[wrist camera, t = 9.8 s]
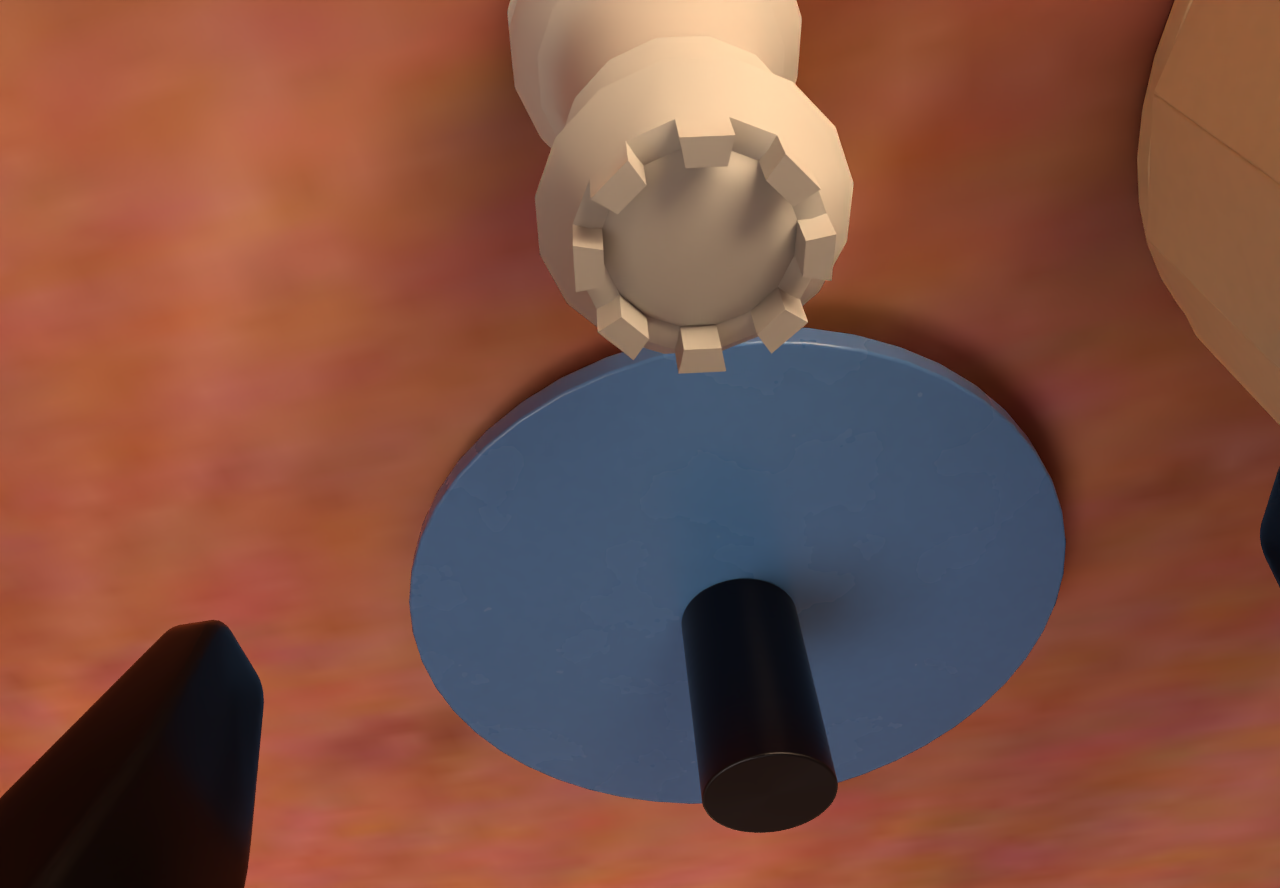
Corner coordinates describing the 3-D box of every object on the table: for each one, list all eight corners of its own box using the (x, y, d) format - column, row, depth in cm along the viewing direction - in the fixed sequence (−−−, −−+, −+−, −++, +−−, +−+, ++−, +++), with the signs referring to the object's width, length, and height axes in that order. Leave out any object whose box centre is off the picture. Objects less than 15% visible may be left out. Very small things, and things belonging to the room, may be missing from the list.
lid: (1052, 701, 27) (1148, 907, 23) (537, 808, 29) (532, 1020, 24) (1037, 220, 18) (1189, 400, 14) (299, 417, 20) (221, 634, 16)
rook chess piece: (753, 180, 18) (856, 468, 11) (495, 142, 17) (452, 425, 11) (826, -104, 15) (1015, 64, 9) (524, -163, 14) (488, -28, 8)
